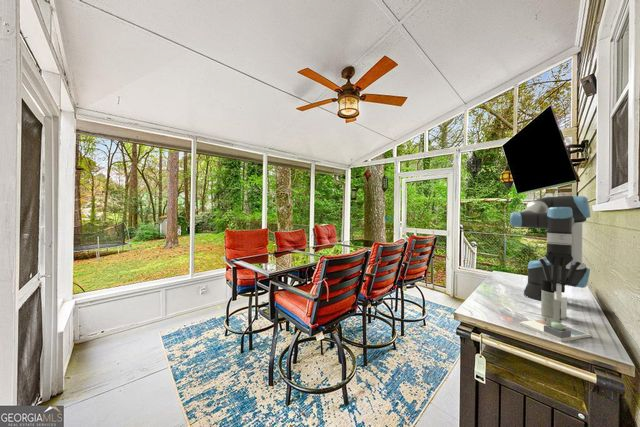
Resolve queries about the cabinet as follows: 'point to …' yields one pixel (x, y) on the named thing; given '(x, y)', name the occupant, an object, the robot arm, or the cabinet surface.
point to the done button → (557, 326)
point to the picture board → (546, 329)
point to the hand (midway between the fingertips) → (557, 299)
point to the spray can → (549, 304)
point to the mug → (563, 306)
